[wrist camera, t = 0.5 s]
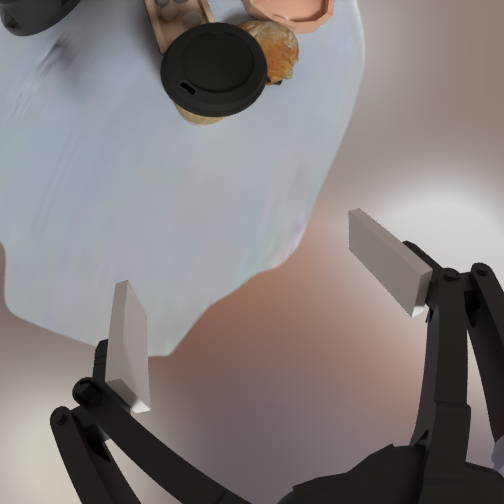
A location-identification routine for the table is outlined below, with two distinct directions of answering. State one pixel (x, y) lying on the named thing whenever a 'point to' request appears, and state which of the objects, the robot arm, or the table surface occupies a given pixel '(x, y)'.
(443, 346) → the robot arm
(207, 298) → the table surface
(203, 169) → the table surface
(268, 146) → the table surface
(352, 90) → the table surface
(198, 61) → the coffee cup
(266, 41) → the bread roll
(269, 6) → the dish
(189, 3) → the pebble tray
